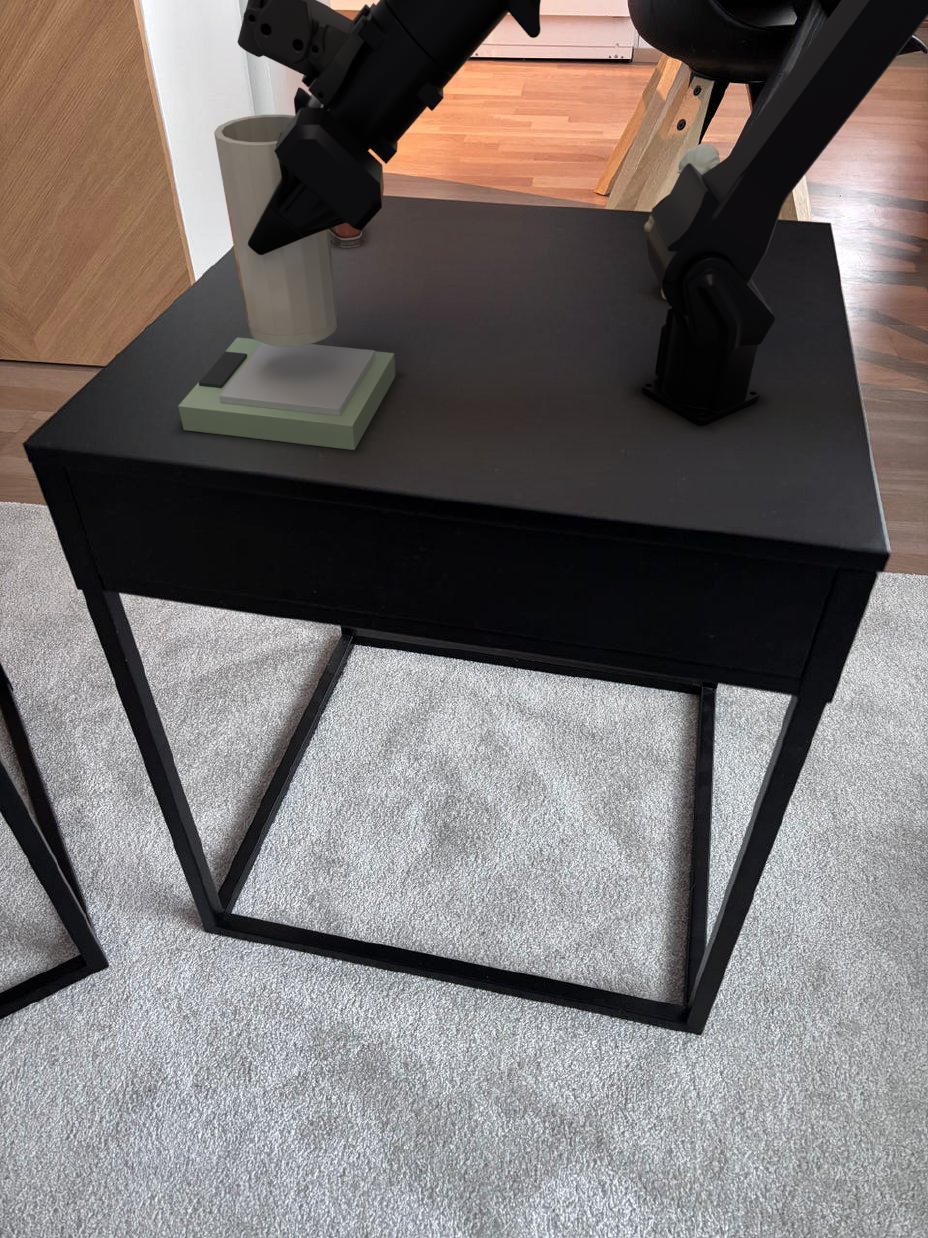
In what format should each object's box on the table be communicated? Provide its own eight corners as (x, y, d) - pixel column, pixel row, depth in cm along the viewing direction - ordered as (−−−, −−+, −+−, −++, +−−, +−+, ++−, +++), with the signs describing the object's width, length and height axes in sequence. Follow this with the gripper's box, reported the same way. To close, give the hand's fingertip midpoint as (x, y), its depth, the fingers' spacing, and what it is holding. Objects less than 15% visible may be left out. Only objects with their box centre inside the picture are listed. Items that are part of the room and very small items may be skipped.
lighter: (319, 221, 99) (308, 116, 92) (351, 217, 100) (342, 113, 93) (335, 249, 94) (324, 140, 87) (368, 245, 94) (360, 137, 88)
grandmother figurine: (719, 287, 87) (747, 138, 78) (724, 305, 84) (753, 152, 75) (635, 284, 87) (653, 136, 79) (637, 302, 84) (656, 150, 76)
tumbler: (324, 301, 70) (303, 109, 61) (348, 337, 66) (329, 136, 57) (240, 316, 69) (206, 120, 60) (259, 353, 64) (225, 148, 55)
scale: (395, 376, 74) (393, 345, 73) (354, 450, 66) (351, 417, 65) (241, 360, 76) (235, 329, 75) (183, 430, 69) (176, 398, 67)
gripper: (324, -103, 58) (183, 98, 66) (293, -59, 45) (118, 189, 52) (454, 42, 64) (309, 212, 71) (461, 121, 50) (281, 322, 57)
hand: (260, 229), depth 63 cm, fingers closed on tumbler, 6 cm apart
